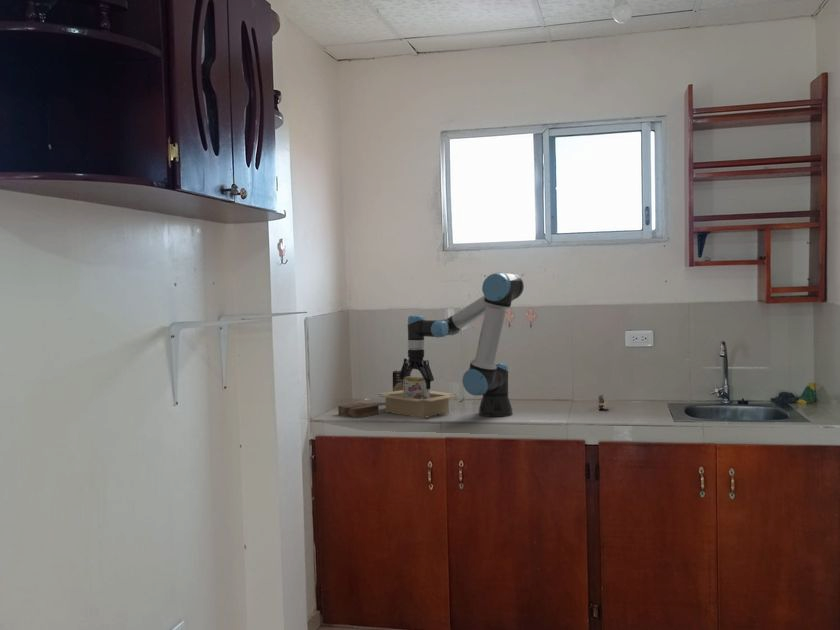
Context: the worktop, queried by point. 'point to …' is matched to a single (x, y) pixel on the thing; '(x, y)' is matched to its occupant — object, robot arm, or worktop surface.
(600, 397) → the architectural model
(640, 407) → the worktop surface
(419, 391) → the candy bar box
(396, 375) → the coffee box
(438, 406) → the carton
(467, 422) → the worktop surface
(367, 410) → the plinth
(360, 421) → the worktop surface
